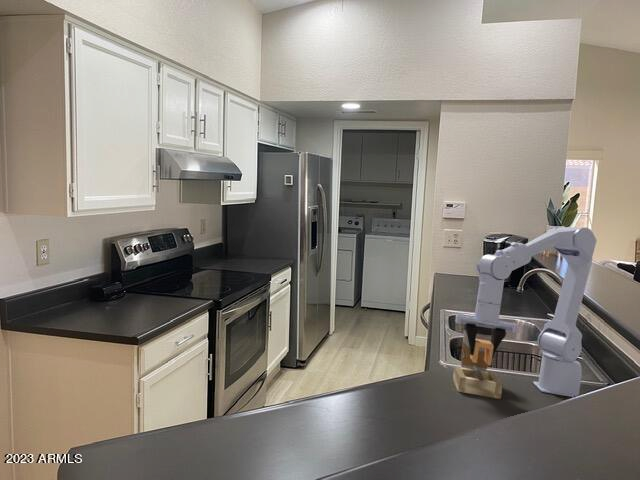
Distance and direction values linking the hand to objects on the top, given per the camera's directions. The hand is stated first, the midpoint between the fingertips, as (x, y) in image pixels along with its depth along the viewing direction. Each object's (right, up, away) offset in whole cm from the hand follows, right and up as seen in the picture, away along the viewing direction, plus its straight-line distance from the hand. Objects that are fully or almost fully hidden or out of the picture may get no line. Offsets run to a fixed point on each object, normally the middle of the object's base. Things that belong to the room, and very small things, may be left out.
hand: (481, 355), depth 119 cm
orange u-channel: (0, -1, 0) cm, 1 cm away
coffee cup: (+1, -9, +10) cm, 14 cm away
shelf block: (-1, -8, 0) cm, 9 cm away
